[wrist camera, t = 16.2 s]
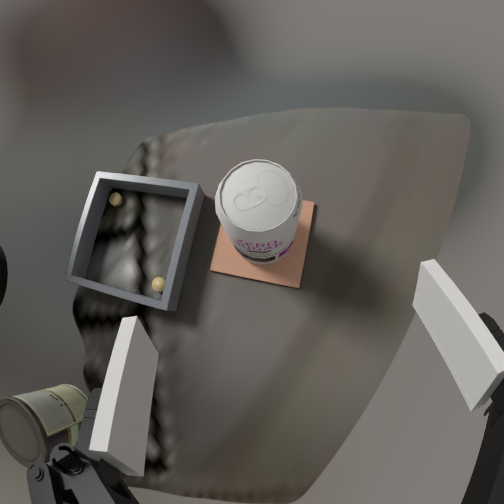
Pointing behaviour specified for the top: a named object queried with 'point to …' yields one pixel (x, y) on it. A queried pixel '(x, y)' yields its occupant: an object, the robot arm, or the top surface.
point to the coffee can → (41, 422)
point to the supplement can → (259, 210)
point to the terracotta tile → (277, 273)
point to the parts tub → (99, 199)
